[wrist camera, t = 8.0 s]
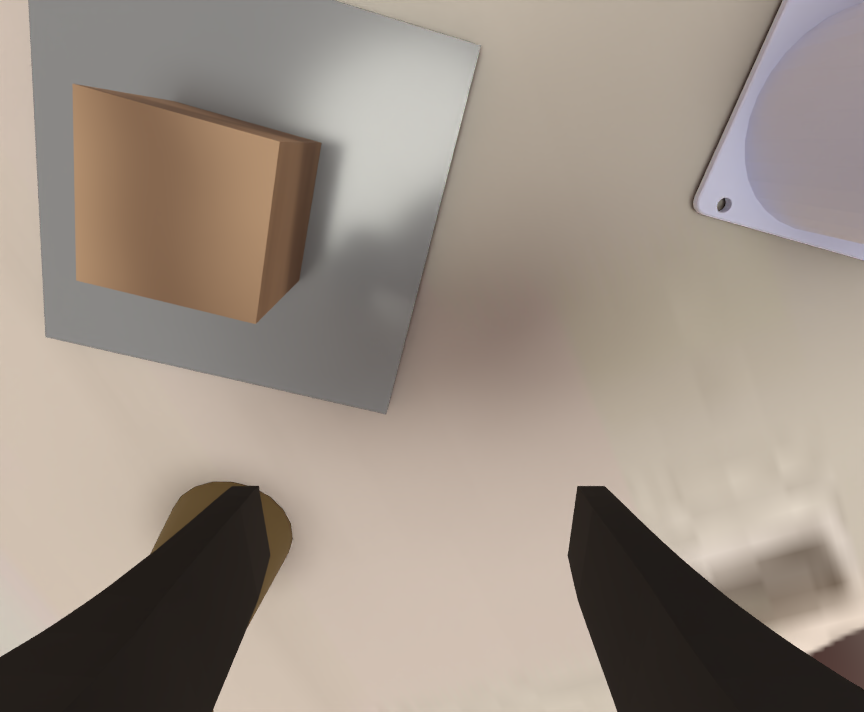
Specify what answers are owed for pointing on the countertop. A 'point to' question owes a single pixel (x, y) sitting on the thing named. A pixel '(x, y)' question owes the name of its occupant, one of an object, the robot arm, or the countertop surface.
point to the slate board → (287, 112)
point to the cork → (273, 517)
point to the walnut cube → (188, 203)
